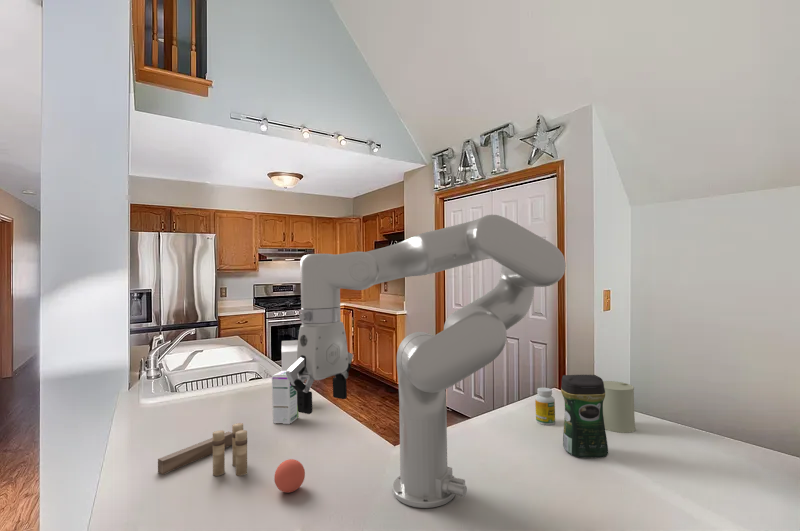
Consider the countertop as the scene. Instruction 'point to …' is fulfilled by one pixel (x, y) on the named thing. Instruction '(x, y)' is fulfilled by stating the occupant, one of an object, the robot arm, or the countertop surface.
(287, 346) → the milk
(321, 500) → the countertop surface
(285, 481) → the ball
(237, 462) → the front pin
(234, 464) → the right back pin
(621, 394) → the can
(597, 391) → the coffee jar
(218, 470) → the left back pin
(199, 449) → the back wall
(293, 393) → the syrup box
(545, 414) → the supplement bottle
